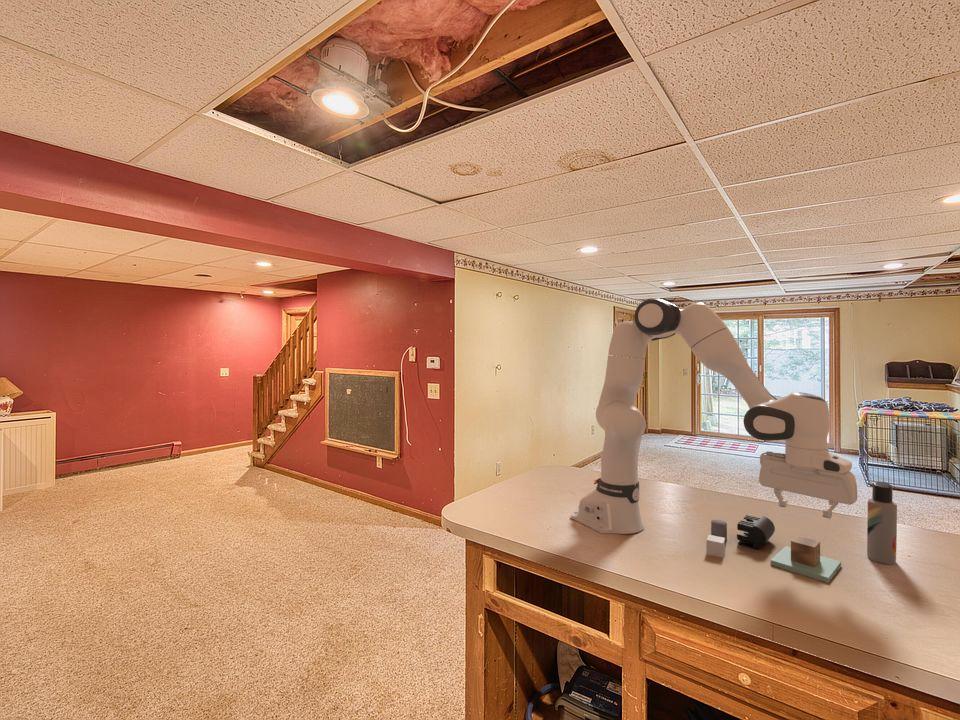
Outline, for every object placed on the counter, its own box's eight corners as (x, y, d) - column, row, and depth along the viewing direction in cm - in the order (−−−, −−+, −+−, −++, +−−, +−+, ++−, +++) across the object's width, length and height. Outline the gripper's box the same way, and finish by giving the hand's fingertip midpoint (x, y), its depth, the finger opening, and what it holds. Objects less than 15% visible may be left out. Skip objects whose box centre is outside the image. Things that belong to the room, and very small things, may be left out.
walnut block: (790, 560, 116) (790, 540, 116) (796, 554, 119) (797, 535, 119) (814, 567, 112) (814, 547, 112) (820, 560, 115) (820, 541, 115)
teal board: (770, 564, 116) (770, 560, 116) (785, 550, 124) (785, 546, 124) (828, 582, 107) (828, 577, 107) (840, 566, 115) (841, 561, 115)
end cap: (765, 553, 123) (766, 528, 123) (736, 545, 128) (736, 521, 128) (775, 541, 130) (775, 518, 130) (747, 534, 135) (747, 512, 135)
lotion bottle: (896, 558, 118) (897, 482, 118) (896, 567, 114) (897, 488, 114) (867, 552, 122) (868, 478, 122) (866, 560, 118) (867, 483, 117)
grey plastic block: (706, 554, 123) (706, 539, 123) (708, 548, 126) (708, 534, 126) (723, 558, 120) (723, 543, 120) (725, 552, 124) (725, 537, 124)
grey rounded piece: (708, 539, 132) (708, 522, 132) (714, 535, 135) (714, 518, 134) (723, 543, 129) (723, 526, 129) (729, 539, 131) (729, 522, 131)
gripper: (755, 451, 121) (754, 503, 121) (854, 468, 105) (851, 527, 105) (764, 448, 125) (762, 498, 125) (860, 463, 109) (858, 520, 109)
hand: (804, 511), depth 115 cm, fingers open, 8 cm apart
